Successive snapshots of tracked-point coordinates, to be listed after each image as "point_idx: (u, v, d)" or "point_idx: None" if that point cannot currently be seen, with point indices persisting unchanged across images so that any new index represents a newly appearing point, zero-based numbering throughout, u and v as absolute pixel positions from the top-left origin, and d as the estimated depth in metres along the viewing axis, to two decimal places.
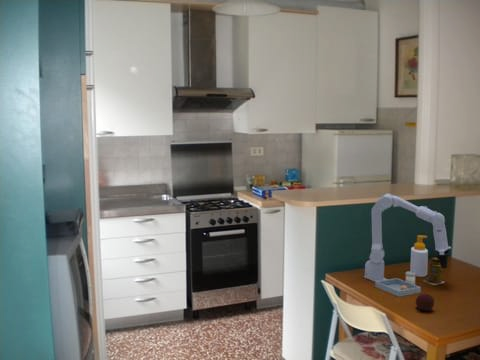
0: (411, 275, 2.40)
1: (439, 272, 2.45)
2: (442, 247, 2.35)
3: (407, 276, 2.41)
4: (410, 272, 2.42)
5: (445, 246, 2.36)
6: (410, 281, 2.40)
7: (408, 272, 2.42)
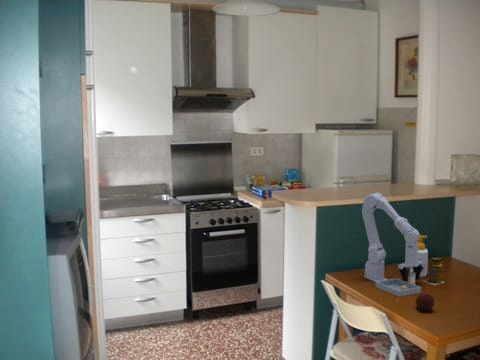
0: (411, 275, 2.40)
1: (439, 272, 2.45)
2: (407, 262, 2.40)
3: None
4: (410, 272, 2.42)
5: (410, 262, 2.39)
6: (410, 281, 2.40)
7: None
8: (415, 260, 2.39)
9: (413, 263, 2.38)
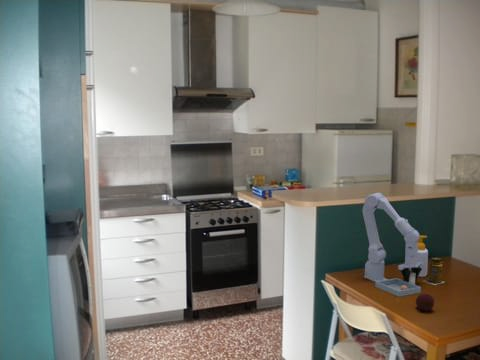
0: (411, 275, 2.40)
1: (439, 272, 2.45)
2: (407, 263, 2.40)
3: None
4: None
5: (410, 263, 2.39)
6: (410, 281, 2.40)
7: None
8: (415, 261, 2.39)
9: (413, 264, 2.38)
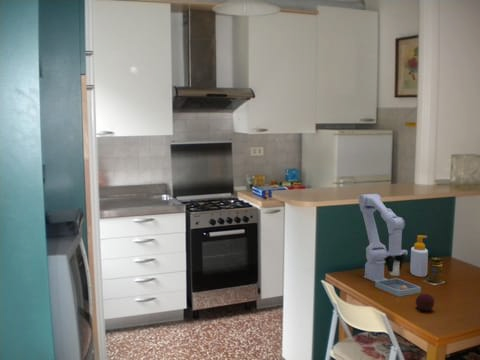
0: (395, 263, 2.34)
1: (439, 272, 2.45)
2: (391, 251, 2.34)
3: None
4: (394, 261, 2.37)
5: (394, 251, 2.33)
6: (394, 270, 2.35)
7: None
8: (399, 249, 2.33)
9: (397, 252, 2.33)
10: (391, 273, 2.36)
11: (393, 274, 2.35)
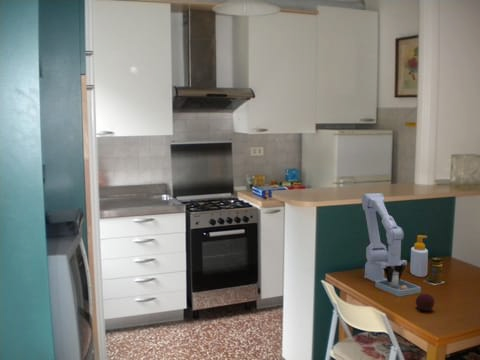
0: (394, 274, 2.35)
1: (439, 272, 2.45)
2: (390, 261, 2.35)
3: None
4: (393, 271, 2.37)
5: (393, 261, 2.34)
6: (393, 280, 2.35)
7: None
8: (398, 259, 2.34)
9: (396, 262, 2.33)
10: (390, 283, 2.36)
11: (392, 284, 2.35)
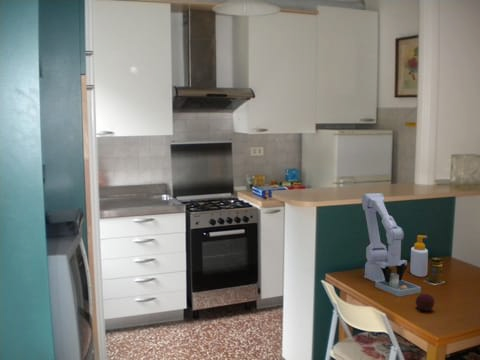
0: (394, 277, 2.35)
1: (439, 272, 2.45)
2: (390, 261, 2.35)
3: (390, 278, 2.36)
4: (393, 274, 2.37)
5: (393, 261, 2.34)
6: (393, 283, 2.35)
7: (391, 274, 2.37)
8: (398, 259, 2.34)
9: (396, 262, 2.33)
10: (390, 286, 2.36)
11: (392, 287, 2.36)
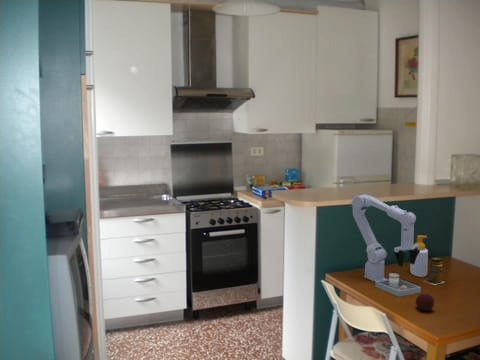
0: (394, 277, 2.35)
1: (439, 272, 2.45)
2: (403, 246, 2.39)
3: (390, 278, 2.36)
4: (393, 274, 2.37)
5: (406, 245, 2.38)
6: (393, 283, 2.35)
7: (391, 274, 2.37)
8: (411, 243, 2.38)
9: (409, 246, 2.37)
10: (390, 286, 2.36)
11: (392, 287, 2.36)
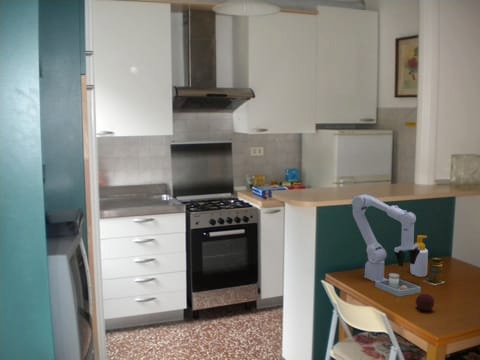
0: (394, 277, 2.35)
1: (439, 272, 2.45)
2: (403, 246, 2.39)
3: (390, 278, 2.36)
4: (393, 274, 2.37)
5: (406, 245, 2.38)
6: (393, 283, 2.35)
7: (391, 274, 2.37)
8: (411, 243, 2.38)
9: (409, 246, 2.38)
10: (390, 286, 2.36)
11: (392, 287, 2.36)
